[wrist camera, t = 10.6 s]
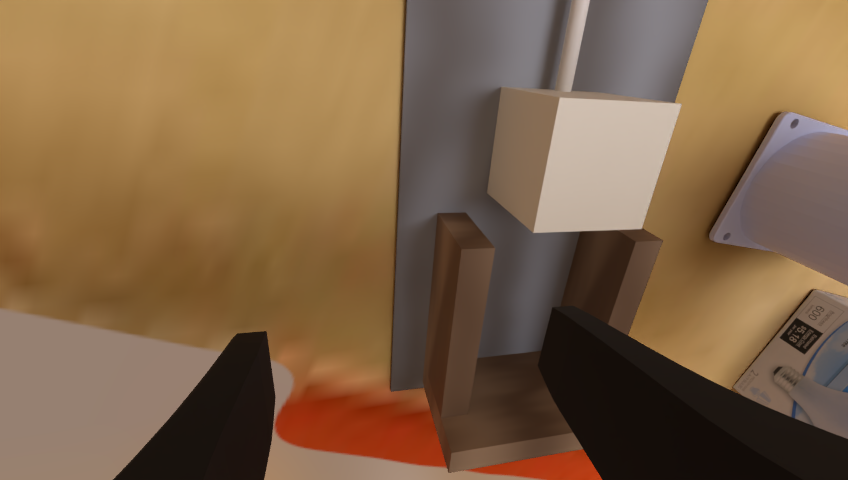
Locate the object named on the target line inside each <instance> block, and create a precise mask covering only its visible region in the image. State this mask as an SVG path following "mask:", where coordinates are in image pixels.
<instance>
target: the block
mask: <svg viewBox="0 0 848 480" xmlns="http://www.w3.org/2000/svg"><path fill="white" fill-rule="evenodd" d="M589 3H590V0H572V2H571V7H570V12H569V17H568V23H567V28H566V33H565V38H564V44H563V49H562V54H561V59H560V65H559V70H558V75H557V81H556V86H555V90H551V89H533V88H516V87H501V93H500V101H499V108H498V115H497V123H496V130H495V137H494V145H493V152H492V159H491V167H490V174H489V181H488V189H487V193H488V194H489V195H490V196H491V197H492V198H493V199H495V200H496V201H497V202H498V203H499V204H500V205H501V206H503V207H504V208H505V209H506V210H507V211H508V212H510V213H511V214H512V215H513V216H514V217H515V218H517V219H518V220H519V221H520V222H521V223H522V224H523V225H525V226H526V227H527V228H528V229H529V230H530V231H532V232H533V233H546V232H574V231H603V230H631V229H642V226H643V223H644V220H645V217H646V214H647V211H648V208H649V204H650V201H651V198H652V195H653V192H654V189H655V186H656V183H657V180H658V176H659V173H660V170H661V167H662V164H663V161H664V158H665V155H666V152H667V148H668V145H669V142H670V139H671V136H672V133H673V130H674V127H675V124H676V120H677V117H678V114H679V111H680V108H681V105H682V104H679V103H672V102H665V101H658V100H650V99H643V98H636V97H629V96H622V95H615V94H608V93H600V92H586V91H571V90H572V85H573V80H574V75H575V70H576V66H577V61H578V56H579V51H580V46H581V41H582V36H583V32H584V27H585V22H586V17H587V12H588V7H589Z"/></svg>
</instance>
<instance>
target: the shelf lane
mask: <svg viewBox="0 0 848 480" xmlns="http://www.w3.org/2000/svg"><path fill="white" fill-rule="evenodd" d="M571 2H572V0H406V21H405V46H404V70H403V95H402V120H401V144H400V169H399V193H398V218H397V242H396V267H395V292H394V316H393V341H392V365H391V392H392V391H400V390H408V389H416V388H424V389H425V392H426V396H427V399H428V403H429V406H430V410H431V413H432V417H433V420H434V424H435V427H436V430H437V434H438V437H439V441H440V444H441V448H442V451H443V455H444V458H445V462H446V465H447V469H448V472H449V473H451V472H456V471H462V470H468V469H474V468H479V467H485V466H490V465H496V464H502V463H507V462H513V461H518V460H524V459H530V458H535V457H541V456H546V455H552V454H557V453H563V452H569V451H574V450H580V449H583V448H582V446H581V444H580V443H579V441H578V440H577V438H576V436H575V435H574V433H573V432H572V430H571V428H570V427H569V425H568V424H567V422H566V420H565V419H564V417H563V415H562V414H561V412H560V411H559V409H558V407H557V406H556V404H555V402H554V401H553V398H552V396H551V394H550V392H549V390H548V388H547V386H546V384H545V381H544V379H543V377H542V375H541V372H540V370H539V368H538V362H539V358H540V354H541V350H542V346H543V342H544V338H545V334H546V330H547V326H548V323H549V319H550V315H551V311H552V307H561V306H575V307H577V308H579V309H581V310H583V311H585V312H587V313H589V314H590V315H592V316H594V317H596V318H598V319H600V320H601V321H603V322H605V323H607V324H608V325H610V326H612V327H614V328H615V329H617V330H619V331H621V332H622V333H624V334H626V335H627V336H628V334H629V331H630V328H631V325H632V323H633V320H634V317H635V315H636V312H637V309H638V307H639V304H640V301H641V299H642V296H643V293H644V290H645V288H646V285H647V282H648V280H649V277H650V274H651V272H652V269H653V266H654V264H655V261H656V258H657V255H658V253H659V250H660V247H661V245H662V242H663V240H661V239H659V238H658V237H656V236H654V235H653V234H651V233H649V232H647V231H646V230H644V229H631V230H603V231H574V232H546V233H533V232H532V231H530V230H529V229H528V228H527V227H526V226H525V225H523V224H522V223H521V222H520V221H519V220H518V219H517V218H515V217H514V216H513V215H512V214H511V213H510V212H508V211H507V210H506V209H505V208H504V207H503V206H501V205H500V204H499V203H498V202H497V201H496V200H495V199H493V198H492V197H491V196H490V195H489V194H488V193H487V189H488V181H489V174H490V167H491V159H492V152H493V145H494V137H495V130H496V123H497V115H498V108H499V101H500V93H501V87H516V88H533V89H551V90H555V86H556V81H557V75H558V70H559V65H560V59H561V54H562V49H563V44H564V38H565V33H566V28H567V23H568V17H569V12H570V7H571ZM707 2H708V0H590V3H589V7H588V12H587V17H586V22H585V27H584V32H583V36H582V41H581V46H580V51H579V56H578V61H577V66H576V70H575V75H574V80H573V85H572V90H571V91H586V92H600V93H608V94H615V95H622V96H629V97H636V98H643V99H650V100H658V101H665V102H672V103H675V100H676V96H677V93H678V90H679V87H680V84H681V81H682V78H683V75H684V72H685V69H686V66H687V63H688V60H689V57H690V54H691V51H692V48H693V45H694V42H695V39H696V36H697V33H698V30H699V27H700V24H701V21H702V17H703V14H704V11H705V8H706V5H707Z"/></svg>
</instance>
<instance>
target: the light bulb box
mask: <svg viewBox="0 0 848 480" xmlns="http://www.w3.org/2000/svg"><path fill="white" fill-rule="evenodd" d="M733 388H734V389H735V390H737V391H738V392H739V393H740V394H741V395H742V396H744V397H746V398H749V399H751V400H753V401H755V402H757V403H760V404H762V405H764V406H766V407H769V408H771V409H773V410H776V411H778V412H780V413H783V414H785V415H788V416H790V417H793V418H795V419H798V420H800V421H803V422H805V423H808V424H810V425H813V426H815V427H818V428H820V429H823V430H826V431H828V432H831V433H833V434H836V435H839V436H841V437H844V438H847V439H848V298H846V297H842V296H839V295H835V294H831V293H828V292H824V291H820V290H813V291H812V293H811V294H810V295H809V296H808V298H807V299H806V300H805V301H804V302H803V304H802V305H801V306H800V307H799V308H798V310H797V311H796V312H795V313H794V314H793V316H792V317H791V318H790V319H789V320H788V322H787V323H786V324H785V325H784V326H783V328H782V329H781V330H780V331H779V332H778V333H777V335H776V336H775V337H774V338H773V339H772V341H771V342H770V343H769V344H768V345H767V347H766V348H765V349H764V350H763V351H762V353H761V354H760V355H759V356H758V358H757V359H756V360H755V361H754V362H753V363H752V365H751V366H750V367H749V368H748V369H747V371H746V372H745V373H744V374H743V375H742V376H741V378H740V379H739V380H738V381H737V382H736V384H735V385H734V386H733Z"/></svg>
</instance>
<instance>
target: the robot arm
mask: <svg viewBox="0 0 848 480" xmlns="http://www.w3.org/2000/svg"><path fill="white" fill-rule="evenodd" d="M709 238H710V240H712V241H714V242H717V243H723V244H729V245H735V246H741V247H747V248H754V249H760V250H766V251H772V252H776V253H778V254H781V255H783V256H785V257H787V258H789V259H791V260H794V261H796V262H798V263H800V264H802V265H804V266H807V267H809V268H811V269H813V270H815V271H817V272H820V273H822V274H824V275H826V276H828V277H830V278H833V279H835V280H837V281H839V282H841V283H843V284H845V285H848V130H845V129H842V128H839V127H836V126H833V125H830V124H827V123H824V122H821V121H818V120H815V119H812V118H809V117H806V116H802V115H799V114H796V113H793V112H782V113H781V114H780V115H778V116H777V118H776V119H775V121H774V123H773V124H772V126H771V128H770V130H769V131H768V133H767V135H766V136H765V138H764V140H763V142H762V143H761V145H760V147H759V149H758V150H757V152H756V154H755V155H754V157H753V159H752V161H751V162H750V164H749V166H748V168H747V169H746V171H745V173H744V174H743V176H742V178H741V180H740V181H739V183H738V185H737V187H736V188H735V190H734V192H733V194H732V195H731V197H730V199H729V200H728V202H727V204H726V206H725V207H724V209H723V211H722V213H721V214H720V216H719V218H718V219H717V221H716V223H715V225H714V226H713V228H712V230H711V232H710V234H709ZM538 368H539V370H540V372H541V375H542V377H543V379H544V381H545V384H546V386H547V388H548V390H549V392H550V394H551V396H552V398H553V401H554V402H555V404H556V406H557V407H558V409H559V411H560V412H561V414H562V415H563V417H564V419H565V420H566V422H567V424H568V425H569V427H570V428H571V430H572V432H573V433H574V435H575V436H576V438H577V440H578V441H579V443H580V444H581V446H582V448H583V449H584V451H585V452H586V454H587V456H588V457H589V459H590V460H591V462H592V464H593V465H594V467H595V468H596V470H597V471H598V473H599V475H600V476H601V478H602V479H603V480H848V439H847V438H844V437H841V436H839V435H836V434H833V433H831V432H828V431H826V430H823V429H820V428H818V427H815V426H813V425H810V424H808V423H805V422H803V421H800V420H798V419H795V418H793V417H790V416H788V415H785V414H783V413H780V412H778V411H776V410H773V409H771V408H769V407H766V406H764V405H762V404H760V403H757V402H755V401H753V400H751V399H749V398H746V397H744V396H742V395H740V394H738V393H735V392H733V391H731V390H729V389H727V388H725V387H723V386H720V385H718V384H716V383H714V382H712V381H710V380H708V379H706V378H704V377H702V376H701V375H699V374H697V373H695V372H693V371H691V370H689V369H687V368H685V367H683V366H681V365H679V364H677V363H676V362H674V361H672V360H670V359H668V358H666V357H665V356H663V355H661V354H659V353H657V352H656V351H654V350H652V349H650V348H648V347H647V346H645V345H643V344H641V343H640V342H638V341H636V340H634V339H633V338H631V337H629V336H627V335H626V334H624V333H622V332H621V331H619V330H617V329H615V328H614V327H612V326H610V325H608V324H607V323H605V322H603V321H601V320H600V319H598V318H596V317H594V316H592V315H590V314H589V313H587V312H585V311H583V310H581V309H579V308H577V307H575V306H561V307H552V311H551V315H550V319H549V323H548V326H547V330H546V334H545V338H544V342H543V346H542V350H541V354H540V358H539V362H538ZM274 407H275V391H274V383H273V376H272V369H271V361H270V354H269V347H268V339H267V332H266V331H264V332H252V333H240V334H237V335H236V336H235V337H233V339H232V340H231V341H230V343H229V344H228V345H227V347H226V348H225V349H224V351H223V352H222V353H221V355H220V356H219V357H218V359H217V360H216V361H215V363H214V364H213V365H212V367H211V368H210V369H209V371H208V372H207V373H206V374H205V376H204V377H203V378H202V380H201V381H200V382H199V383H198V385H197V386H196V387H195V388H194V389H193V391H192V392H191V393H190V394H189V396H188V397H187V398H186V399H185V400H184V402H183V403H182V404H181V405H180V407H179V408H178V409H177V410H176V411H175V413H174V414H173V415H172V416H171V417H170V418H169V420H168V421H167V422H166V423H165V424H164V425H163V426H162V427H161V429H160V430H159V431H158V432H157V433H156V434H155V435H154V436H153V438H151V440H150V441H149V442H148V443H147V444H146V445H145V446H144V447H143V448H142V450H141V451H140V452H139V453H138V454H137V455H136V456H135V457H134V458H133V460H131V462H130V463H129V464H128V465H127V466H126V467H125V468H124V469H123V470H122V471H121V472H120V473H119V474H118V475H117V476H116V477H115V478H114V479H113V480H264V477H265V472H266V467H267V462H268V457H269V451H270V445H271V441H272V430H273V420H274Z"/></svg>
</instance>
